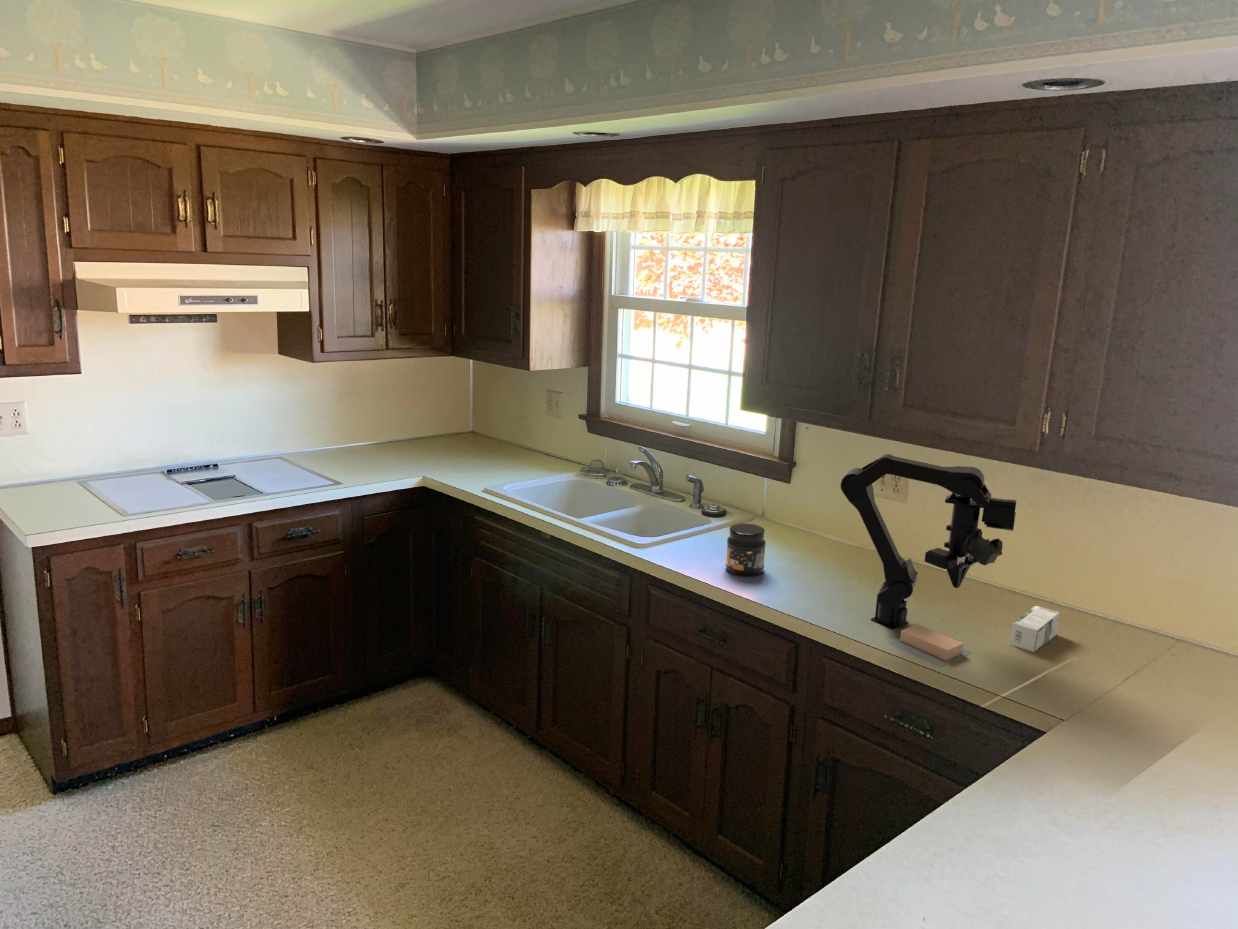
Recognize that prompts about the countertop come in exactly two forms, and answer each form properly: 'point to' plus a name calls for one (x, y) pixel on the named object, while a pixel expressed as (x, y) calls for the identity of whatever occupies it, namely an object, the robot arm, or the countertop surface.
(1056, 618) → the syrup box
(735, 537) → the supplement container
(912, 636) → the tile
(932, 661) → the mat
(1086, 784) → the countertop surface
